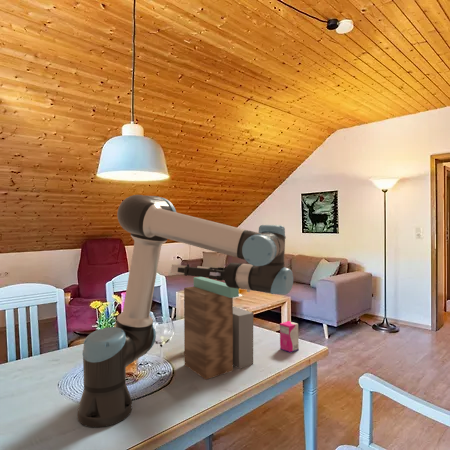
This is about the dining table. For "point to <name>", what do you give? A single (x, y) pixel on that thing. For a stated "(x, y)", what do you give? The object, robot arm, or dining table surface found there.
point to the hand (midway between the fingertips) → (185, 269)
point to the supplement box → (289, 336)
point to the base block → (242, 338)
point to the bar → (215, 287)
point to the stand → (208, 332)
